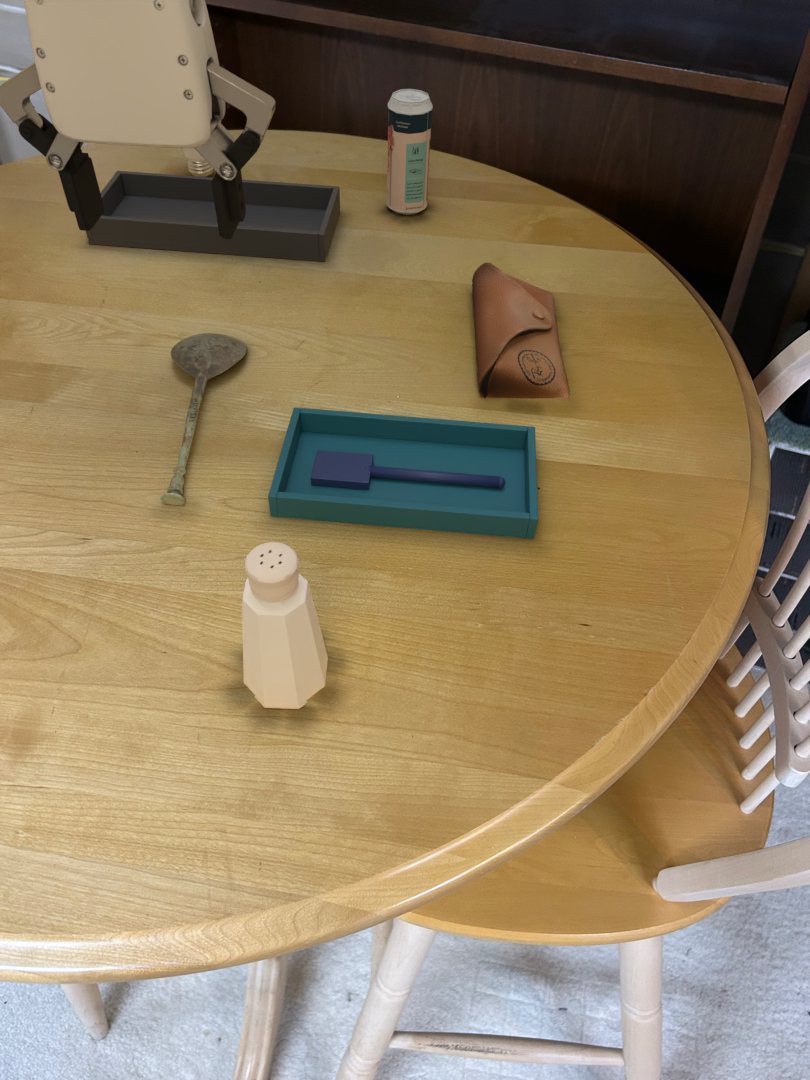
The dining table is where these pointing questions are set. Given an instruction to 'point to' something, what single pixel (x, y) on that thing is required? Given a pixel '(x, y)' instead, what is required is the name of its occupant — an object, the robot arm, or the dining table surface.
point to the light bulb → (197, 163)
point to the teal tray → (417, 449)
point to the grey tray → (191, 224)
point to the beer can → (408, 150)
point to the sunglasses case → (516, 338)
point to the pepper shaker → (280, 630)
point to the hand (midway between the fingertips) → (161, 225)
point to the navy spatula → (383, 473)
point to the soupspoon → (199, 388)
